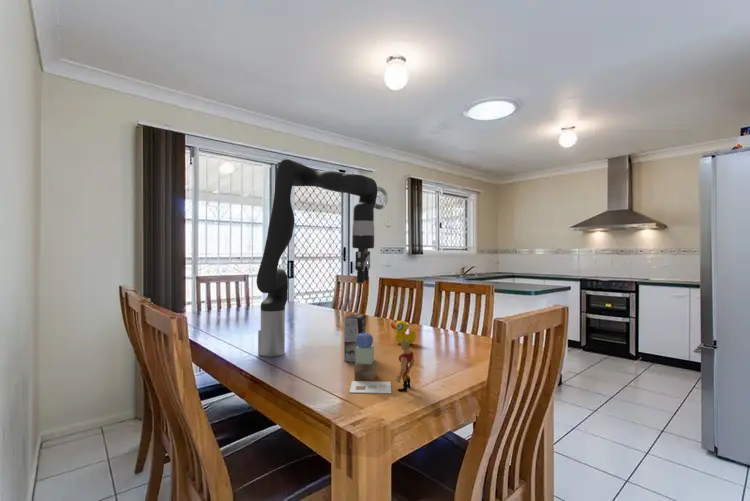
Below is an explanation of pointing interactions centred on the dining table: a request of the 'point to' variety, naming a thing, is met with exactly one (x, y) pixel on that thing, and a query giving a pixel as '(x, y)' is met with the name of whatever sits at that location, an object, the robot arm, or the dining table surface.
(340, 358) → the dining table surface
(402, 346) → the action figure
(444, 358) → the dining table surface
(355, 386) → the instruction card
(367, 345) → the decorative dice
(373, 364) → the base block
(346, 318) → the coffee box
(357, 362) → the sage cube
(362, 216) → the robot arm
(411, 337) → the duckling
